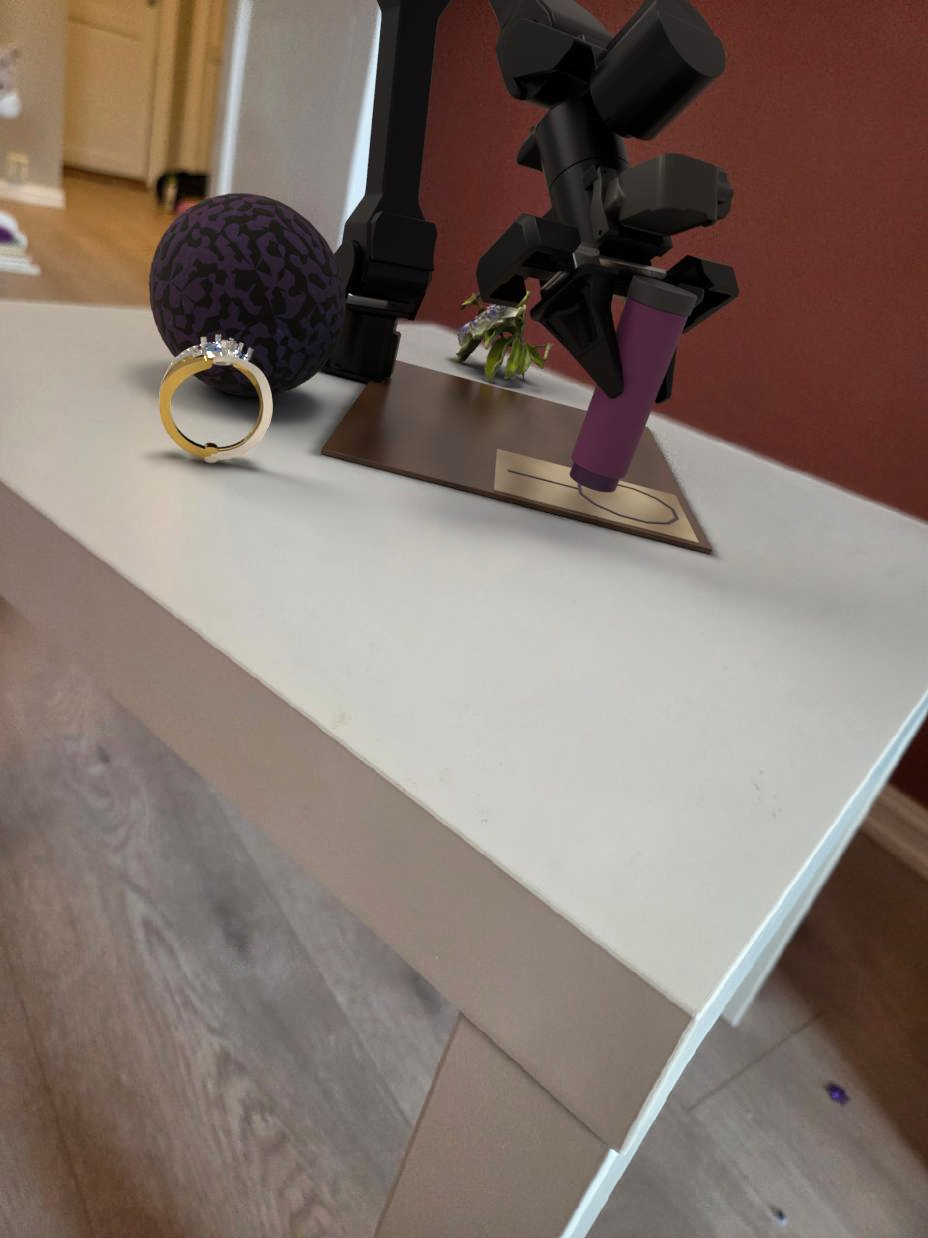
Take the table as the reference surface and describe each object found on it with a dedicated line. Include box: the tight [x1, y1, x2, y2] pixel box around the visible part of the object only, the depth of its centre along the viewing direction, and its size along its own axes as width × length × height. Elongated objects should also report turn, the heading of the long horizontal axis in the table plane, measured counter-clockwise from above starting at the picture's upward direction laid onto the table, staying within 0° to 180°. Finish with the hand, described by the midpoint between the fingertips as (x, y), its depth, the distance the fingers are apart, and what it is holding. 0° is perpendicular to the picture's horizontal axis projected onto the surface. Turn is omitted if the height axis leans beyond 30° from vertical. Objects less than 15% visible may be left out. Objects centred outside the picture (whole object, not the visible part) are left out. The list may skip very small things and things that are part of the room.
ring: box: [158, 333, 273, 464], centre depth 56 cm, size 7×3×8 cm, turn 107°
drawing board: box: [320, 359, 713, 555], centre depth 81 cm, size 30×36×1 cm
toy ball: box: [148, 192, 346, 398], centre depth 69 cm, size 15×15×15 cm
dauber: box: [569, 275, 697, 492], centre depth 58 cm, size 4×4×13 cm
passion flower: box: [454, 290, 554, 383], centre depth 104 cm, size 11×11×12 cm
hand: (640, 398), depth 57 cm, fingers closed on dauber, 4 cm apart
